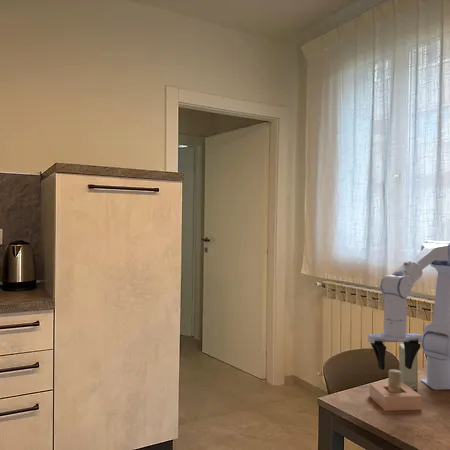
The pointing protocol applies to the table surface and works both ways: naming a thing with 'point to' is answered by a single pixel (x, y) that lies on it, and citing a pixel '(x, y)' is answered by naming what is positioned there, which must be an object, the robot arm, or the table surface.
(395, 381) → the beech peg
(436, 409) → the table surface
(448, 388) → the robot arm
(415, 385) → the skincare box
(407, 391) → the socket block
